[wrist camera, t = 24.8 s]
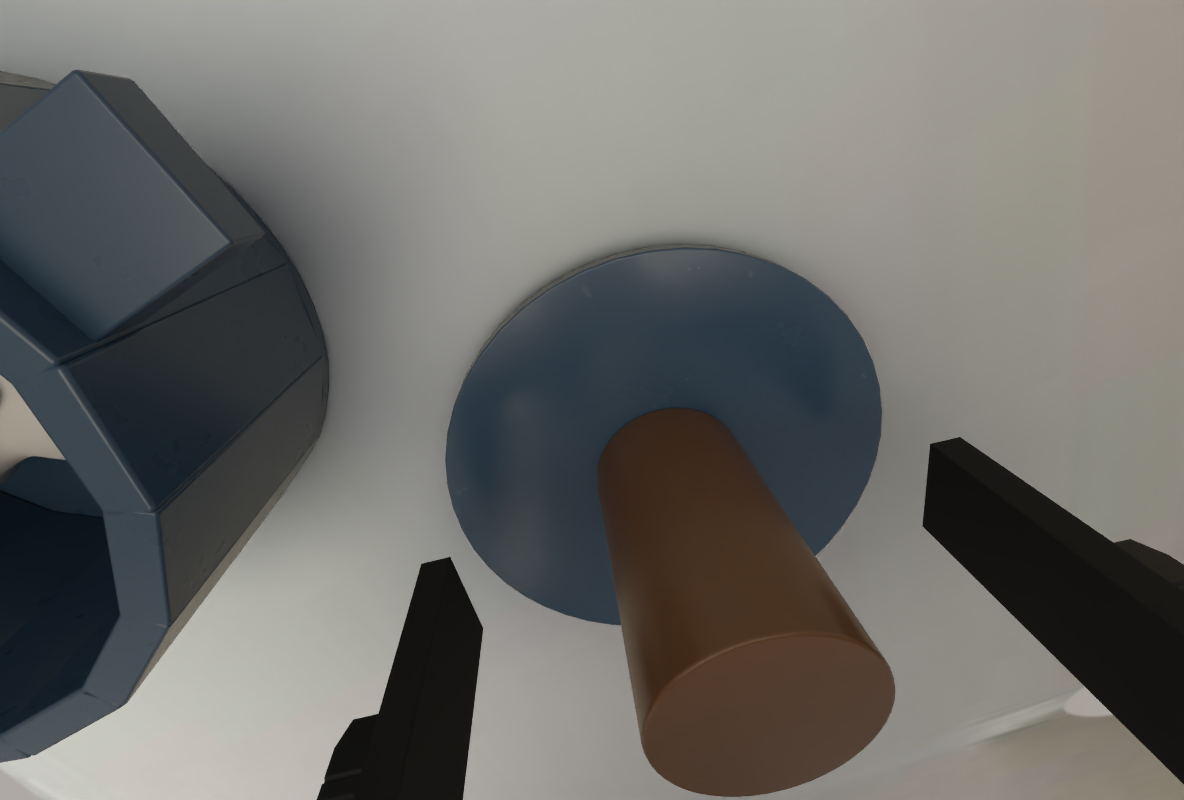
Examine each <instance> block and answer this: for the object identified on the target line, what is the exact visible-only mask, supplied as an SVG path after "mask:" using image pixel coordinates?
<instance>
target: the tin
mask: <svg viewBox="0 0 1184 800" xmlns="http://www.w3.org/2000/svg"><path fill="white" fill-rule="evenodd" d="M0 375H1V376H2V377H4V378H5V379H6V380H7V381H9V382H10V383H11V384H12V385H13V386H14V388H15V389H16V391H17V392H18V393H19V395H20V396H21V398H22V399H23V400H24V402H25V403H26V405H27V406H28V407H29V409H30V410H31V412H32V413H33V414H34V416H35V417H36V419H37V420H38V421H39V423H40V424H41V426H42V427H43V428H44V430H45V431H46V433H47V434H48V435H49V437H50V438H51V440H52V441H53V442H54V444H55V445H56V447H57V448H58V449H59V451H60V452H61V454H62V455H63V457H64V458H65V459H66V460H62V459H53V458H46V457H39V456H31V457H28V458H26V459H24V460H22V461H21V464H20V465H19V467H18V468H17V470H16V471H15V472H14V473H13V474H12V475H11V476H10V477H9V478H8V479H7V480H5V481H4V482H3V483H2V484H0V763H1V762H6V761H12V760H18V759H23V758H28V757H30V756H31V755H36V754H38V753H40V752H42V751H43V750H45V749H47V748H49V747H51V746H52V745H54V744H56V743H58V742H60V741H61V740H63V739H65V738H67V737H69V736H70V735H72V734H74V733H76V732H78V731H79V730H81V729H83V728H85V727H87V726H88V725H90V724H92V723H94V722H96V721H97V720H99V719H101V718H103V717H104V716H106V715H108V714H110V713H112V712H113V711H115V710H117V709H119V708H121V707H122V706H123V705H125V704H126V703H127V702H128V701H129V700H130V698H131V697H132V696H133V694H134V693H135V692H136V690H137V689H138V688H139V686H140V685H141V684H142V682H143V681H144V680H145V678H146V677H147V676H148V674H149V673H150V672H151V670H152V669H153V668H154V666H155V665H156V664H157V662H158V661H159V660H160V658H161V657H162V655H163V654H164V653H165V651H166V650H167V649H168V647H169V646H170V645H171V643H172V642H173V641H174V639H175V638H176V637H177V635H178V634H179V633H180V631H181V630H182V629H183V627H184V626H185V625H186V623H187V622H188V621H189V619H190V618H191V617H192V615H193V614H194V613H195V611H196V610H197V609H198V607H199V606H200V605H201V603H202V602H203V601H204V599H205V598H206V597H207V595H208V594H209V593H210V591H211V590H212V589H213V587H214V586H215V585H216V583H217V582H218V581H219V579H220V578H221V577H222V575H223V574H224V573H225V571H226V570H227V569H228V567H229V566H230V565H231V563H232V562H233V561H234V559H235V558H236V557H237V555H238V554H239V552H240V551H241V550H242V548H243V547H244V546H245V544H246V543H247V542H248V540H249V539H250V538H251V536H252V535H253V534H254V532H255V531H256V530H257V528H258V527H259V526H260V524H261V523H262V522H263V520H264V519H265V518H266V516H267V515H268V514H269V512H270V511H271V510H272V508H273V507H274V506H275V504H276V503H277V502H278V500H279V499H280V498H281V496H282V495H283V494H284V492H285V491H286V489H287V488H288V486H289V484H290V483H291V481H292V479H293V478H294V476H295V475H296V473H297V471H298V470H299V468H300V466H301V465H302V464H303V462H304V461H305V459H306V458H307V457H308V455H309V454H310V452H311V450H312V448H313V446H314V444H315V442H316V440H317V438H318V437H319V433H320V432H321V426H322V423H323V419H324V416H325V413H326V405H327V397H328V389H329V385H328V361H327V355H326V349H325V344H324V338H323V333H322V330H321V327H320V324H319V321H318V318H317V315H316V312H315V309H314V306H313V303H312V301H311V299H310V297H309V295H308V293H307V291H306V288H305V286H304V284H303V282H302V280H301V278H300V276H299V274H298V272H297V271H296V269H295V267H294V266H293V264H292V263H291V261H290V259H289V258H288V256H287V254H286V253H285V251H284V250H283V248H282V246H281V245H280V244H279V242H278V241H277V240H276V239H275V237H274V236H273V235H272V233H271V232H270V231H269V229H268V228H267V227H266V226H265V224H264V223H263V222H262V220H261V219H260V218H259V217H258V215H257V214H256V213H255V212H254V211H253V210H252V209H251V208H250V207H249V206H248V205H247V204H246V203H245V202H244V201H243V200H242V199H241V198H240V197H239V196H238V194H237V193H236V192H235V191H234V190H233V189H232V188H231V187H230V186H229V185H227V184H226V183H225V182H224V181H223V180H222V179H221V178H219V177H218V176H217V175H216V174H215V173H214V172H212V171H211V170H210V169H209V167H208V166H207V165H206V164H205V163H204V162H203V160H202V159H201V158H200V157H199V156H198V155H197V154H196V152H195V151H194V150H193V149H192V148H191V147H190V145H189V144H188V143H187V142H186V141H185V140H184V139H183V137H182V136H181V135H180V134H179V133H178V132H177V130H176V129H175V128H174V127H173V126H172V125H171V124H170V122H169V121H168V120H167V119H166V118H165V117H164V115H163V114H162V113H161V112H160V111H159V110H158V109H157V107H156V106H155V105H154V104H153V103H152V102H151V100H150V99H149V98H148V97H147V96H146V95H145V93H144V92H143V91H142V90H141V89H140V88H139V87H138V85H137V84H136V83H135V82H134V81H132V80H131V79H128V78H122V77H117V76H111V75H105V74H99V73H94V72H88V71H82V70H74V71H72V72H71V73H70V74H69V75H67V76H66V77H65V78H64V79H63V80H61V81H60V82H59V83H58V84H57V85H55V84H52V83H49V82H46V81H43V80H40V79H36V78H31V77H26V76H21V75H16V74H11V73H6V72H1V71H0Z"/></svg>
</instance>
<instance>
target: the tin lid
mask: <svg viewBox="0 0 1184 800" xmlns="http://www.w3.org/2000/svg"><path fill="white" fill-rule="evenodd" d="M881 418H882V407H881V397H880V387H879V383H878V379H877V375H876V372H875V368H874V364H873V361H872V359H871V357H870V354H869V352H868V350H867V348H866V345H865V343H864V341H863V339H862V337H861V336H860V334H859V333H858V331H857V330H856V328H855V327H854V325H853V324H852V322H851V321H850V319H849V318H848V316H847V315H846V314H845V313H844V312H843V311H842V310H841V309H840V308H839V307H838V306H837V305H836V304H835V303H834V302H833V301H832V300H831V298H830V297H829V296H827V295H826V294H825V293H823V292H822V291H821V290H819V289H818V288H817V287H815V286H814V285H813V284H811V283H810V282H809V281H807V280H806V279H804V278H803V277H801V276H799V275H797V274H795V273H793V272H791V271H789V270H787V269H786V268H784V267H782V266H780V265H778V264H776V263H774V262H772V261H769V260H766V259H763V258H760V257H757V256H754V255H751V254H748V253H746V252H743V251H737V250H732V249H727V248H721V247H716V246H708V245H685V244H676V245H665V246H654V247H645V248H640V249H636V250H632V251H627V252H623V253H619V254H614V255H611V256H608V257H606V258H603V259H600V260H598V261H595V262H592V263H590V264H587V265H584V266H582V267H579V268H578V269H576V270H574V271H572V272H570V273H568V274H566V275H564V276H563V277H561V278H559V279H557V280H555V281H553V282H551V283H550V284H548V285H547V286H546V287H544V288H543V289H541V290H540V291H539V292H537V293H536V294H535V295H533V296H532V297H530V298H529V299H528V300H526V301H525V302H524V303H523V304H521V305H520V306H519V307H518V308H517V309H516V310H515V311H514V312H513V313H512V314H511V315H510V316H509V317H508V318H507V319H506V320H505V321H503V322H502V323H501V324H500V326H499V327H498V328H497V329H496V331H495V332H494V333H493V334H492V336H491V337H490V338H489V339H488V341H487V342H486V343H485V344H484V346H483V347H482V348H481V350H480V352H479V353H478V355H477V357H476V359H475V360H474V362H473V364H472V365H471V367H470V369H469V370H468V372H467V374H466V376H465V379H464V381H463V384H462V386H461V389H460V391H459V394H458V396H457V399H456V401H455V404H454V408H453V412H452V416H451V420H450V425H449V429H448V433H447V445H446V458H445V460H446V472H447V484H448V488H449V493H450V497H451V501H452V505H453V508H454V511H455V513H456V516H457V518H458V520H459V523H460V525H461V528H462V530H463V532H464V533H465V535H466V537H467V538H468V540H469V542H470V543H471V545H472V546H473V548H474V550H475V551H476V552H477V553H478V555H479V556H480V557H481V558H482V559H483V561H484V562H485V563H486V564H487V566H488V567H489V568H490V569H491V570H492V571H494V572H495V573H496V574H497V575H498V576H499V577H500V578H501V579H502V580H503V581H504V582H506V583H507V584H508V585H510V586H511V587H513V588H514V589H515V590H517V591H518V592H520V593H521V594H523V595H524V596H526V597H528V598H530V599H531V600H533V601H535V602H537V603H539V604H541V605H543V606H545V607H547V608H550V609H552V610H555V611H557V612H560V613H562V614H565V615H568V616H572V617H576V618H579V619H583V620H587V621H592V622H598V623H605V624H611V625H621V626H622V632H623V638H624V644H625V650H626V656H627V662H628V667H629V673H630V679H631V685H632V691H633V697H634V703H635V708H636V714H637V720H638V726H639V732H640V738H641V744H642V747H643V751H644V754H645V755H646V757H647V759H648V761H649V763H650V764H651V766H652V767H653V768H654V769H655V770H656V772H657V773H658V774H660V775H661V776H662V777H663V778H664V779H666V780H668V781H669V782H671V783H673V784H674V785H676V786H679V787H681V788H683V789H686V790H689V791H693V792H696V793H701V794H706V795H713V796H724V797H740V796H753V795H760V794H767V793H772V792H776V791H781V790H785V789H788V788H792V787H795V786H798V785H801V784H804V783H806V782H809V781H812V780H814V779H816V778H818V777H820V776H823V775H825V774H827V773H829V772H830V771H832V770H834V769H836V768H838V767H839V766H841V765H842V764H844V763H846V762H847V761H849V760H850V759H851V758H853V757H854V756H855V755H857V754H858V753H859V752H860V751H862V750H863V749H864V748H865V747H866V746H867V745H868V744H869V743H870V742H871V741H872V740H873V739H874V738H875V737H876V735H877V734H878V733H879V732H880V730H881V729H882V727H883V726H884V724H885V723H886V721H887V719H888V717H889V715H890V713H891V711H892V707H893V704H894V699H895V684H894V677H893V674H892V672H891V669H890V667H889V665H888V663H887V662H886V660H885V659H884V657H883V656H882V654H881V653H880V651H879V650H878V648H877V647H876V645H875V644H874V643H873V641H872V640H871V638H870V637H869V635H868V634H867V632H866V631H865V629H864V628H863V626H862V625H861V623H860V622H859V620H858V619H857V617H856V616H855V614H854V613H853V611H852V610H851V609H850V607H849V606H848V604H847V603H846V601H845V600H844V598H843V597H842V595H841V594H840V592H839V591H838V589H837V588H836V586H835V585H834V583H833V582H832V580H831V579H830V577H829V576H828V575H827V573H826V572H825V570H824V569H823V567H822V566H821V564H820V563H819V561H818V560H817V558H816V557H815V556H816V555H817V554H818V553H819V552H820V551H821V550H822V549H823V548H824V547H825V546H826V545H827V544H828V543H829V542H830V541H831V539H832V538H833V537H834V536H835V534H836V533H837V532H838V531H839V530H840V528H841V527H842V526H843V525H844V523H845V522H846V520H847V519H848V517H849V516H850V514H851V513H852V511H853V509H854V508H855V506H856V505H857V503H858V501H859V499H860V497H861V495H862V493H863V491H864V489H865V487H866V485H867V483H868V480H869V477H870V475H871V472H872V469H873V466H874V463H875V460H876V456H877V451H878V446H879V441H880V436H881Z"/></svg>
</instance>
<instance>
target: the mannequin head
mask: <svg viewBox="0 0 1184 800" xmlns="http://www.w3.org/2000/svg"><path fill="white" fill-rule="evenodd" d="M31 456H39V457H46V458H53V459H62V460H66V459H65V458H64V457H63V455H62V454H61V452H60V451H59V449H58V448H57V447H56V445H55V444H54V442H53V441H52V440H51V438H50V437H49V435H48V434H47V433H46V431H45V430H44V428H43V427H42V426H41V424H40V423H39V421H38V420H37V419H36V417H35V416H34V414H33V413H32V412H31V410H30V409H29V407H28V406H27V405H26V403H25V402H24V400H23V399H22V398H21V396H20V395H19V393H18V392H17V391H16V389H15V388H14V386H13V385H12V384H11V383H10V382H9V381H7V380H6V379H5V378H4V377H2V376H1V375H0V484H2V483H3V482H4V481H5V480H7V479H8V478H9V477H10V476H11V475H12V474H13V473H14V472H15V471H16V470H17V468H18V467H19V465H20V464H21V461H22V460H24V459H26V458H28V457H31Z"/></svg>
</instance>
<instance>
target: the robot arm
mask: <svg viewBox="0 0 1184 800" xmlns="http://www.w3.org/2000/svg"><path fill="white" fill-rule="evenodd" d="M923 527H924V528H925V529H926V530H927V531H928V532H929V533H930V534H931V535H932V536H933V537H934V538H935V539H936V540H937V541H938V542H939V543H940V544H941V545H942V546H943V547H944V548H945V549H946V550H947V551H948V552H949V553H950V554H951V555H952V556H953V557H954V558H955V559H956V560H957V561H958V562H959V563H960V564H961V565H963V566H964V567H965V568H966V569H967V570H968V571H969V572H970V573H971V574H972V575H973V576H974V577H975V578H976V579H977V580H978V581H979V582H980V583H981V584H982V585H983V586H984V587H985V588H986V589H987V590H988V591H989V592H990V593H991V594H992V595H993V596H994V597H995V598H996V599H997V600H998V601H999V602H1000V603H1001V604H1002V605H1003V606H1004V607H1005V608H1006V609H1007V610H1008V611H1009V612H1010V613H1011V614H1012V615H1013V616H1014V617H1015V618H1016V619H1017V620H1018V621H1019V622H1020V623H1021V624H1022V625H1023V626H1024V627H1025V628H1026V629H1027V630H1028V631H1029V632H1030V633H1031V634H1032V635H1033V636H1034V637H1035V638H1036V639H1037V640H1038V641H1039V642H1040V643H1041V644H1042V645H1043V646H1044V647H1045V648H1046V649H1047V650H1048V651H1049V652H1050V653H1051V654H1053V655H1054V656H1055V657H1056V658H1057V659H1058V660H1059V661H1060V662H1061V663H1062V664H1063V665H1064V666H1065V667H1066V668H1067V669H1068V670H1069V671H1070V672H1071V673H1072V674H1073V675H1074V676H1075V677H1076V678H1077V679H1078V680H1079V681H1080V682H1081V683H1082V684H1083V685H1084V686H1085V687H1086V688H1087V689H1088V690H1089V691H1090V692H1091V693H1092V694H1093V695H1094V696H1095V697H1096V698H1097V699H1098V700H1099V701H1100V702H1101V703H1102V704H1103V705H1104V706H1105V707H1106V708H1107V709H1108V710H1109V711H1110V712H1111V713H1112V714H1113V715H1114V716H1115V717H1116V718H1117V719H1118V720H1119V721H1120V722H1121V723H1122V724H1123V725H1124V726H1125V727H1126V728H1127V729H1128V730H1129V731H1130V732H1131V733H1132V734H1133V735H1134V736H1135V737H1136V738H1137V739H1138V740H1139V741H1140V742H1142V743H1143V744H1144V745H1145V746H1146V747H1147V748H1148V749H1149V750H1150V751H1151V752H1152V753H1153V754H1154V755H1155V756H1156V757H1157V758H1158V759H1159V760H1160V761H1161V762H1162V763H1163V764H1164V765H1165V766H1166V767H1167V768H1168V769H1169V770H1170V771H1171V772H1172V773H1173V774H1174V775H1175V776H1176V777H1177V778H1178V779H1179V780H1180V781H1181V782H1182V783H1183V784H1184V565H1183V564H1181V563H1180V562H1178V561H1177V560H1175V559H1174V558H1172V557H1171V556H1169V555H1167V554H1165V553H1162V552H1160V551H1158V550H1155V549H1153V548H1150V547H1148V546H1145V545H1143V544H1141V543H1138V542H1136V541H1133V540H1131V539H1129V540H1124V541H1120V542H1116V543H1113V542H1111V541H1110V540H1109V539H1107V538H1106V537H1104V536H1103V535H1101V534H1100V533H1098V532H1097V531H1095V530H1094V529H1093V528H1091V527H1090V526H1088V525H1087V524H1085V523H1084V522H1082V521H1081V520H1079V519H1078V518H1077V517H1075V516H1074V515H1072V514H1071V513H1069V512H1068V511H1066V510H1065V509H1064V508H1062V507H1061V506H1059V505H1058V504H1056V503H1055V502H1053V501H1052V500H1050V499H1049V498H1048V497H1046V496H1045V495H1043V494H1042V493H1040V492H1039V491H1037V490H1036V489H1034V488H1033V487H1032V486H1030V485H1029V484H1027V483H1026V482H1024V481H1023V480H1021V479H1020V478H1019V477H1017V476H1016V475H1014V474H1013V473H1011V472H1010V471H1008V470H1007V469H1005V468H1004V467H1003V466H1001V465H1000V464H998V463H997V462H995V461H994V460H992V459H991V458H989V457H988V456H987V455H985V454H984V453H982V452H981V451H979V450H978V449H976V448H975V447H974V446H972V445H971V444H969V443H968V442H966V441H965V440H963V439H962V438H960V437H958V438H954V439H950V440H946V441H941V442H937V443H933V444H930V453H929V464H928V474H927V485H926V496H925V506H924V517H923ZM482 634H483V627H482V625H481V623H480V621H479V618H478V616H477V614H476V612H475V610H474V608H473V605H472V603H471V601H470V599H469V597H468V595H467V592H466V590H465V588H464V586H463V584H462V582H461V579H460V577H459V575H458V573H457V571H456V569H455V567H454V564H453V562H452V560H451V558H450V557H449V558H444V559H440V560H436V561H432V562H427V563H423V564H421V568H420V571H419V575H418V578H417V582H416V585H415V589H414V592H413V596H412V599H411V603H410V606H409V610H408V613H407V617H406V620H405V624H404V627H403V631H402V634H401V638H400V641H399V645H398V648H397V651H396V655H395V658H394V662H393V665H392V669H391V672H390V676H389V679H388V683H387V686H386V690H385V693H384V697H383V700H382V704H381V707H380V711H379V714H376V715H372V716H367V717H363V718H359V719H354V720H353V721H352V722H351V724H350V725H349V727H348V728H347V730H346V731H345V733H344V734H343V736H342V738H341V739H340V741H339V742H338V744H337V745H336V747H335V748H334V751H333V754H332V757H331V760H330V763H329V766H328V769H327V772H326V775H325V778H324V779H325V783H324V784H322V786H321V789H320V792H319V795H318V798H317V800H463V793H464V784H465V776H466V767H467V759H468V751H469V742H470V734H471V726H472V717H473V709H474V701H475V692H476V684H477V675H478V667H479V659H480V650H481V642H482Z"/></svg>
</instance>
